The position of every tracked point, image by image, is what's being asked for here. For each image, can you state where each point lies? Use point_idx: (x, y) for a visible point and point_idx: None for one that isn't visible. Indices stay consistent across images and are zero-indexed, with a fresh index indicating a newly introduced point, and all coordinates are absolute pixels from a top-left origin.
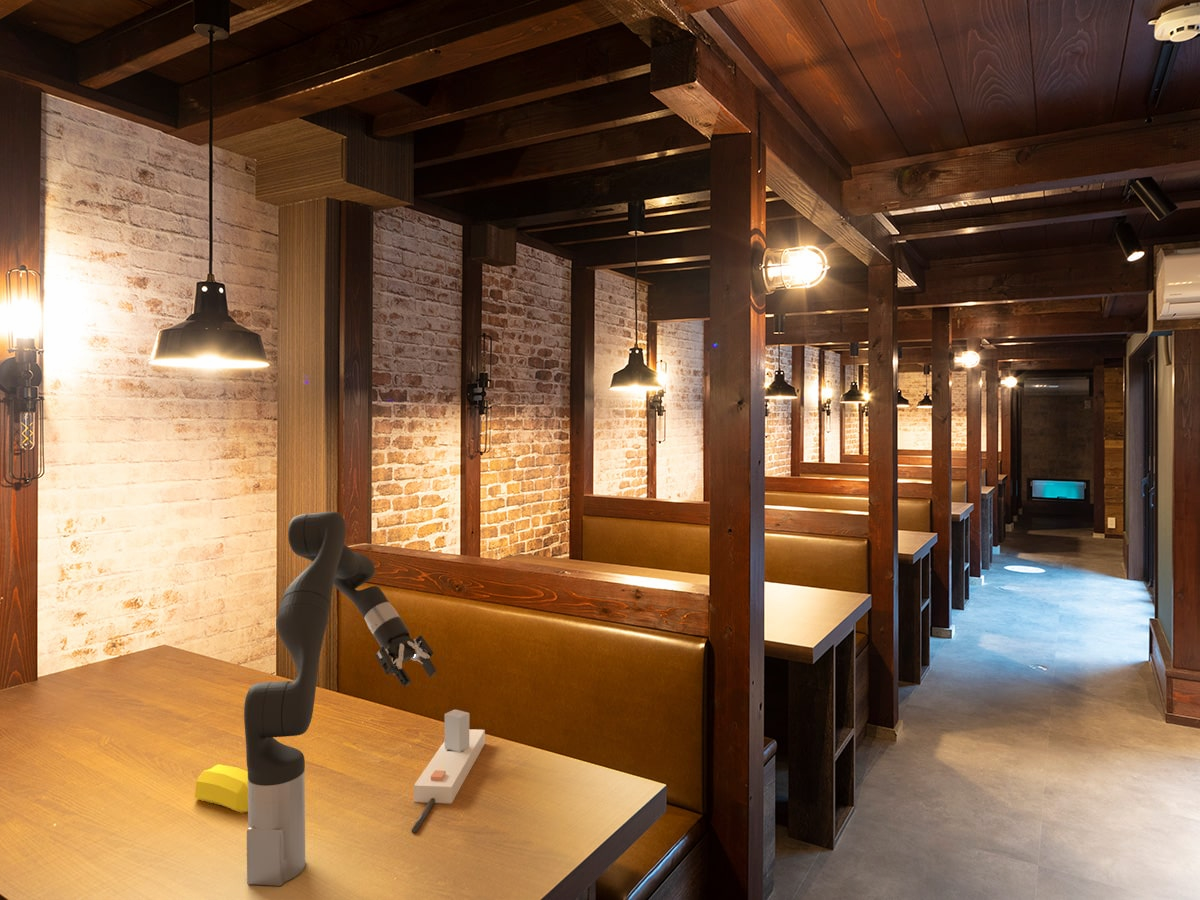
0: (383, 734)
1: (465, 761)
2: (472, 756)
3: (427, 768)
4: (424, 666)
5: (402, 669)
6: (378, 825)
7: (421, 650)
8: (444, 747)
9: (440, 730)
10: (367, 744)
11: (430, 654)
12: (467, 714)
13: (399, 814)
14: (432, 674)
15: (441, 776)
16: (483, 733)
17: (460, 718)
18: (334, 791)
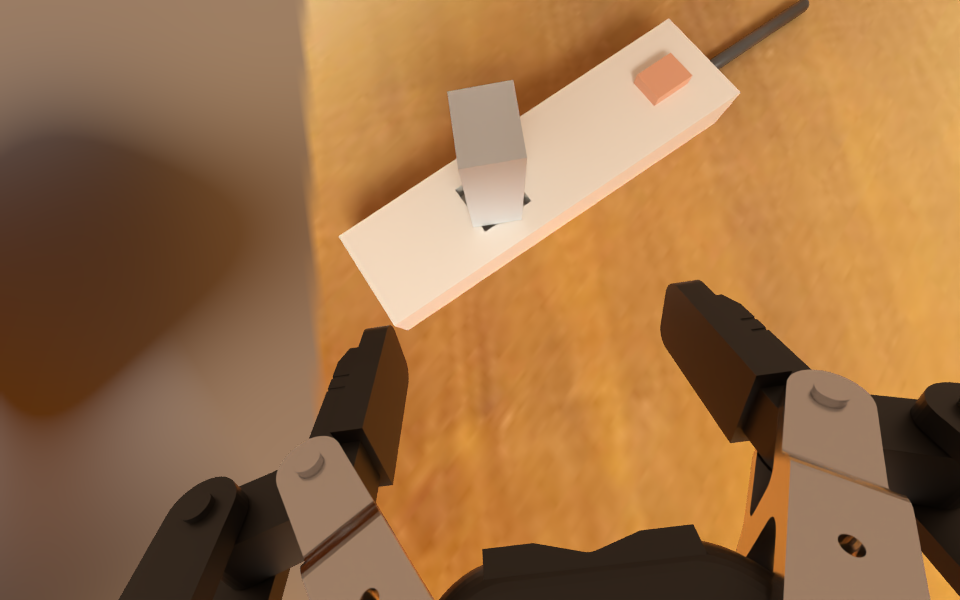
0: None
1: (540, 105)
2: None
3: (647, 148)
4: (391, 448)
5: (770, 366)
6: (843, 93)
7: (337, 549)
8: (516, 226)
9: None
10: None
11: (241, 489)
12: (460, 90)
13: (775, 100)
14: (399, 345)
15: (669, 55)
16: (356, 227)
17: (506, 83)
18: (851, 330)
